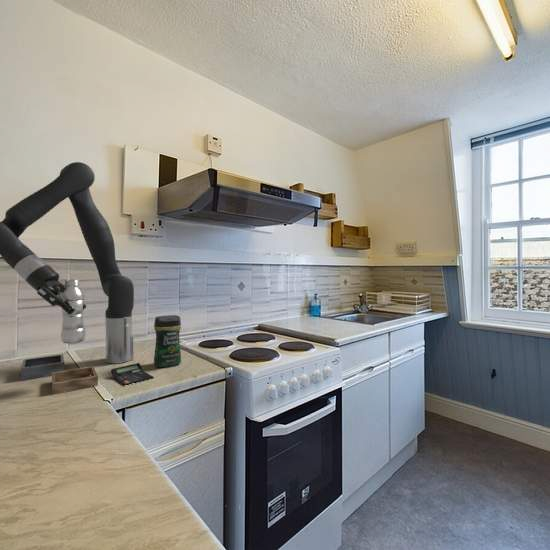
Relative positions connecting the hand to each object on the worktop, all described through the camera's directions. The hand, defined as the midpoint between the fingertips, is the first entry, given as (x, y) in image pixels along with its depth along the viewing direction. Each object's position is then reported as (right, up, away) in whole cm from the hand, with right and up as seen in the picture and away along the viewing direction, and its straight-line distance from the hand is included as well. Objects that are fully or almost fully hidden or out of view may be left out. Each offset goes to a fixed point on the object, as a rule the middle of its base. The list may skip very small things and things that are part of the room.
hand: (78, 310), depth 99 cm
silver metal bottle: (-2, -11, 0) cm, 11 cm away
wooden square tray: (-2, -23, +1) cm, 23 cm away
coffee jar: (+21, -23, +20) cm, 37 cm away
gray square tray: (-19, -23, +11) cm, 32 cm away
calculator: (+14, -24, +6) cm, 28 cm away
